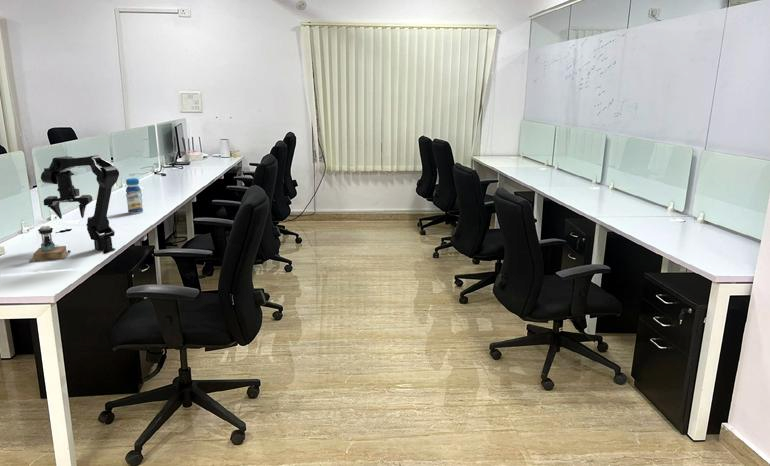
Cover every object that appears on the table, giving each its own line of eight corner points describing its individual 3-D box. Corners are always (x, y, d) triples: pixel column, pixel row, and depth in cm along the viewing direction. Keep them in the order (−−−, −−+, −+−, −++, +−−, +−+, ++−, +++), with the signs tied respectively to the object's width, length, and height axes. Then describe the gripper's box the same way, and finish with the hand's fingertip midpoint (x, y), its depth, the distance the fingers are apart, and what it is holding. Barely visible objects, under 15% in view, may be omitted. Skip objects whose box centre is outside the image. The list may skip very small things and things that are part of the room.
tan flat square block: (66, 252, 239) (65, 245, 238) (61, 258, 230) (60, 251, 229) (40, 254, 236) (39, 247, 235) (34, 260, 226) (33, 253, 226)
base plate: (71, 253, 241) (71, 249, 240) (65, 261, 229) (64, 258, 229) (37, 255, 237) (37, 252, 236) (29, 264, 225) (29, 260, 224)
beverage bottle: (146, 211, 329) (142, 178, 324) (138, 214, 320) (135, 180, 316) (132, 210, 329) (129, 177, 324) (125, 213, 321) (121, 180, 316)
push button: (58, 247, 236) (54, 224, 234) (60, 249, 232) (57, 226, 230) (40, 249, 232) (36, 226, 230) (42, 252, 228) (38, 229, 226)
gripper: (93, 179, 252) (99, 211, 258) (50, 181, 250) (57, 213, 255) (84, 186, 242) (91, 219, 247) (39, 187, 239) (47, 221, 245)
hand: (71, 218), depth 249 cm, fingers open, 9 cm apart
